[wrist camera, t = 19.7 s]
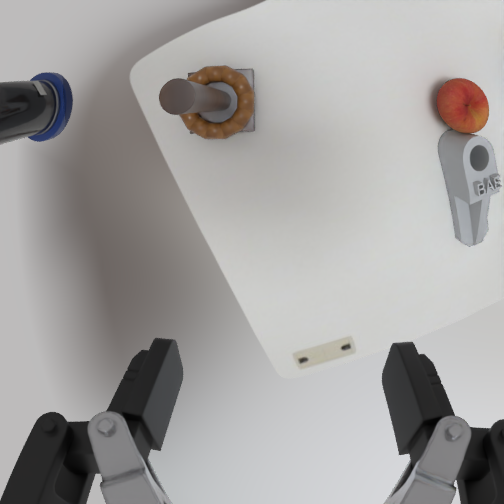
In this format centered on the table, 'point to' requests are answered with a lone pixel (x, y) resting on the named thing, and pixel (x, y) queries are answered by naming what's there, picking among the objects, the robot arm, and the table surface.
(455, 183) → the angled bracket with hole
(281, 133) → the table surface
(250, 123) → the peg stand
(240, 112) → the brown segmented ring
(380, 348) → the table surface
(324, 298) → the table surface
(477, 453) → the robot arm
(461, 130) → the apple
